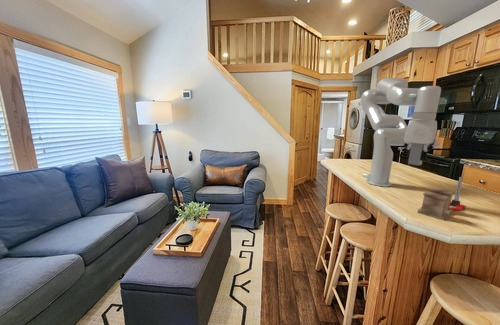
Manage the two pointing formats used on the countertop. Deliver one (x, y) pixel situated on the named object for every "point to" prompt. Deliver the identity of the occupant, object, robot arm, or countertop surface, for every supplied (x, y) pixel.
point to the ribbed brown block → (436, 203)
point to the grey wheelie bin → (415, 154)
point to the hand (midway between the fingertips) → (415, 158)
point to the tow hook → (457, 198)
